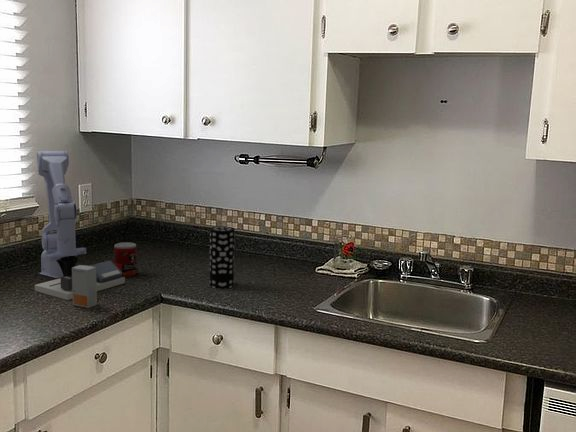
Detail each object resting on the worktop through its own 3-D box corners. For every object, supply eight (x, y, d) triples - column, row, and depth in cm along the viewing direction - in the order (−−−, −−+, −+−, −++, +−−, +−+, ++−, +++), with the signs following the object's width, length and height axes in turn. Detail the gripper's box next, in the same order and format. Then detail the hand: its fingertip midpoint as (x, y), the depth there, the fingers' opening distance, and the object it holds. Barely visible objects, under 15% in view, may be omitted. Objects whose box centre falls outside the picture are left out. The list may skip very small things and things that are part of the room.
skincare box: (72, 305, 188) (70, 267, 186) (81, 301, 192) (80, 264, 190) (88, 308, 186) (87, 270, 184) (97, 304, 190) (96, 266, 188)
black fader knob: (60, 288, 197) (60, 277, 197) (67, 286, 199) (67, 275, 199) (68, 290, 195) (67, 279, 195) (74, 288, 197) (74, 277, 197)
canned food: (124, 278, 219) (123, 248, 217) (110, 274, 224) (109, 244, 222) (141, 274, 225) (141, 244, 223) (127, 270, 230) (126, 241, 228)
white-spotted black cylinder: (220, 280, 220) (221, 225, 216) (238, 285, 215) (239, 228, 212) (204, 285, 213) (204, 228, 210) (222, 290, 209) (223, 232, 205)
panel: (34, 290, 202) (34, 279, 201) (93, 275, 222) (92, 264, 221) (67, 300, 193) (67, 288, 193) (125, 282, 214) (124, 272, 213)
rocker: (88, 268, 209) (89, 265, 208) (108, 263, 217) (110, 260, 216) (100, 281, 207) (102, 278, 206) (121, 276, 214) (122, 272, 213)
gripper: (55, 244, 196) (57, 285, 198) (92, 236, 208) (93, 275, 210) (41, 241, 199) (42, 281, 202) (77, 233, 211) (79, 272, 214)
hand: (67, 278), depth 206 cm, fingers closed
